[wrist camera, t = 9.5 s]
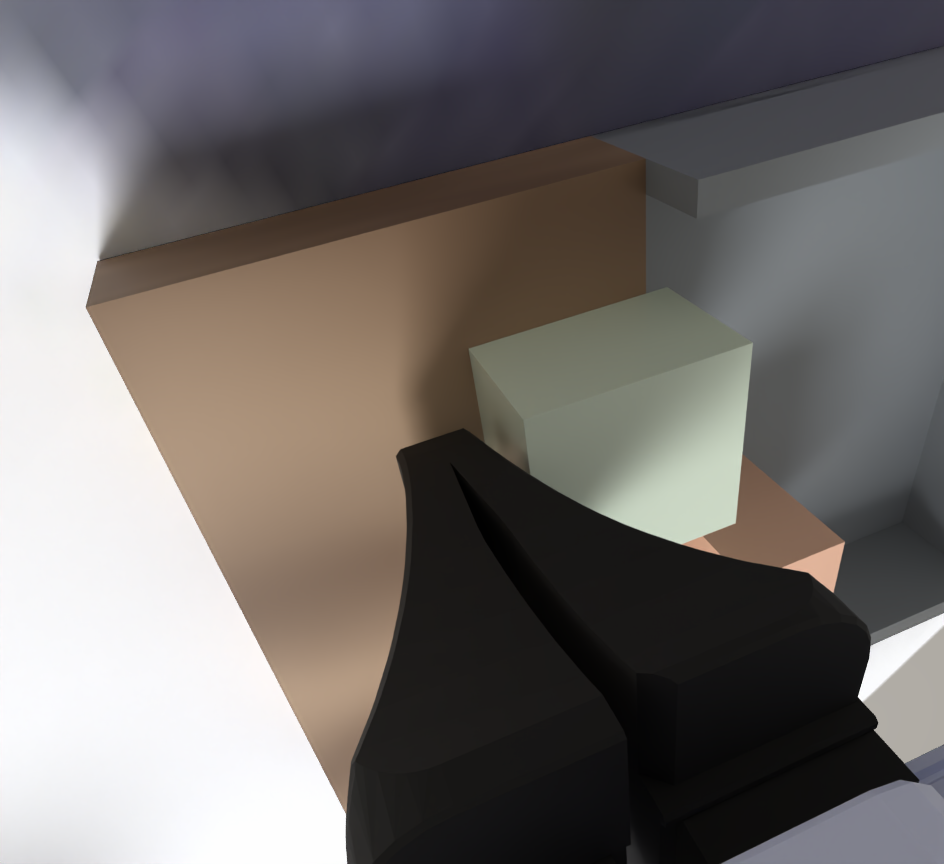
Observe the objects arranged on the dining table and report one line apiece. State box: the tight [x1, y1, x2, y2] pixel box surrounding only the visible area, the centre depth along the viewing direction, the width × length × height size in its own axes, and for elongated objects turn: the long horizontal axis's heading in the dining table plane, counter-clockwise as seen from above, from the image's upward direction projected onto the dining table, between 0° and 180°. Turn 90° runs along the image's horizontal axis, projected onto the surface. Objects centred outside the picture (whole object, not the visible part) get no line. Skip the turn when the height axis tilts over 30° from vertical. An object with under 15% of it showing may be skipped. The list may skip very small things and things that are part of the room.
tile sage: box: [469, 287, 753, 544], centre depth 13 cm, size 4×4×2 cm
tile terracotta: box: [682, 454, 845, 593], centre depth 18 cm, size 4×4×2 cm
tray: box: [591, 46, 944, 645], centre depth 17 cm, size 15×11×4 cm
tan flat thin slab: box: [86, 136, 646, 813], centre depth 16 cm, size 15×9×2 cm, turn 9°
